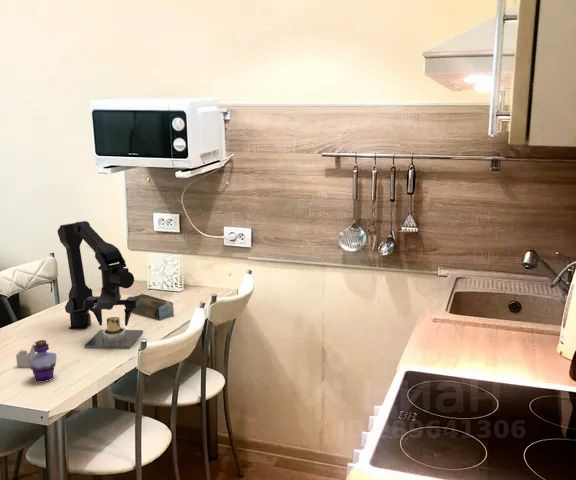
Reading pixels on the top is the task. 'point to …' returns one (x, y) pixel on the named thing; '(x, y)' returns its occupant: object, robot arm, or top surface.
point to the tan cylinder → (113, 325)
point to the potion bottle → (42, 361)
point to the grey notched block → (24, 357)
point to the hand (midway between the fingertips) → (113, 325)
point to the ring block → (114, 339)
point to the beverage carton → (154, 307)
